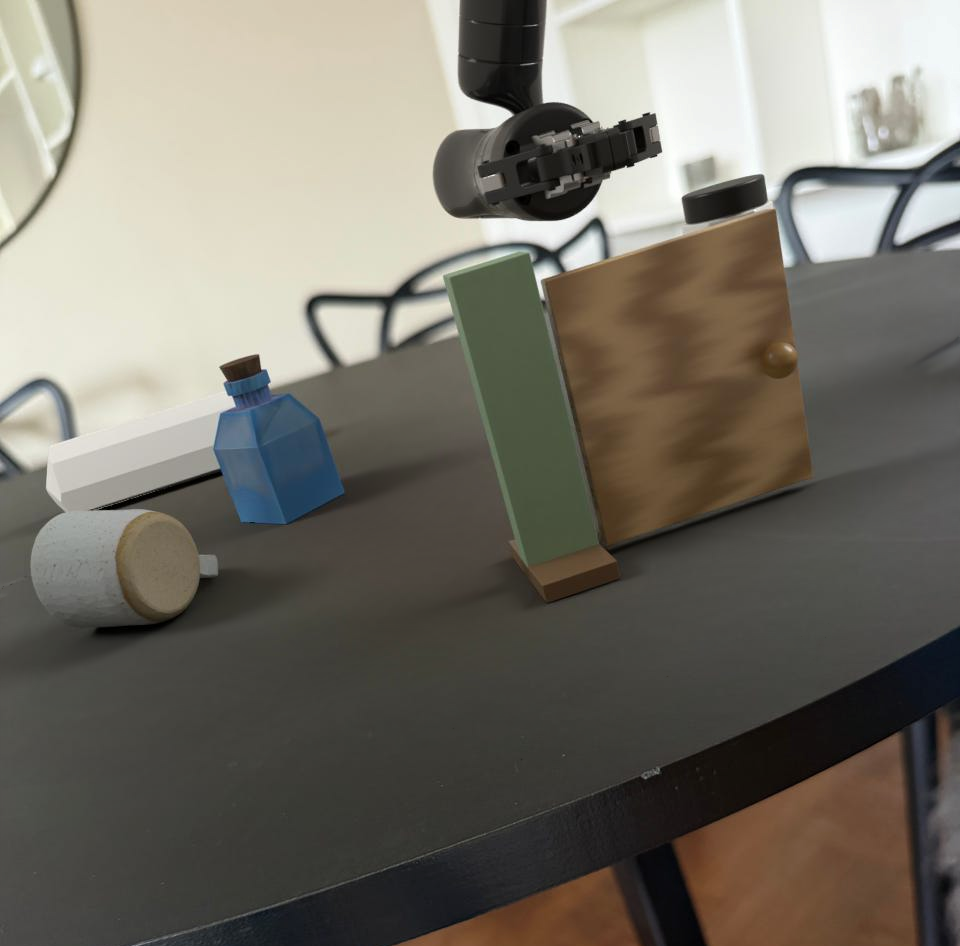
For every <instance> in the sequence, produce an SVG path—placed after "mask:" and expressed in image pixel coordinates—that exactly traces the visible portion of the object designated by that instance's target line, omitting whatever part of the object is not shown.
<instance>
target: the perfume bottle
mask: <svg viewBox="0 0 960 946" xmlns="http://www.w3.org/2000/svg"><path fill="white" fill-rule="evenodd" d="M218 368H219V370H220V371H221V373H222V374H223V376H224V378H225V381H223V387H224V391H226V392H227V395H228V396H232V397H233V400H234V403H235V405H236V407H234V408H231V409H229V410H227V411H224V412H222V413H220V417H219V422H218V427H217V432H216V437H215V442H214V447H213V451H214V453H215V456H216V458H217V461H218V464H219V466H220V469H221V474H222V477H223V479H224V481H225V484H226V486H227V489H228V492H229V495H230V497H231V499H232V501H233V504H234V507H235V509H236V513H237V514H238V516H239V517H238V518H239V520H240V522H241V523H250V522H255V523H254V524H273V525H275V524H276V525H287V524H289V523H291V522H293V521H295V520H297V519H299V518H300V517H302V516H304V515H306V514H309V512H312V511H314V510H316V509H317V508H319V507H321V506H323V505H325V504H326V503H328V502H330V501H332V500H334V499H336V498H338V497H340V496H342V495H343V494H345V493H346V492H345V489H344V486H343V484H342V481H341V478H340V475H339V472H338V470H337V466H336V463H335V460H334V458H333V455H332V450H331V449H330V446H329V442H328V439H327V437H326V436H327V435H326V434H325V430H324V429H323V425H322V421H321V419H320V418H319V417H318V416H317V415H316V414H315V413H313V411H311V410H310V409H309V408H308V407H306V406H305V405H304V404H303V403H302V402H301V401H300V400H298V399H297V398H296V397H295V396H294V395H292V393H290V392H289V393H288V392H286V393H278V394H272V392H271V389H270V386H269V384H270V383H271V382H272V381H271V378H270V375H269V373H268V369H266V368H263V369H262V365H261V357H260V354H259V353H255V354H251V355H247V356H243V357H239V358H236V359H233V360H231V361H228V362H226V363H223V364H221V365H219V367H218Z"/></svg>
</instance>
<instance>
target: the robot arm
mask: <svg viewBox="0 0 960 946" xmlns="http://www.w3.org/2000/svg"><path fill="white" fill-rule="evenodd" d="M547 10H548V0H459V8H458V12H459V13H458V15H459V16H458V39H457V40H458V41H457V42H458V44H457V52H458V54H457V84H458V87H459V90H460V91H461V93H462V94H463V95H464V96H465V97H467V98H469V99H471V100H474V101H475V102H480V103H483V104H487V105H491V106H495V107H499V108H501V109H504V110H506V111H508V112H509V113H510V114H511V116H510V117H508V118H507V119H506V120H504V121H502V123H501V124H500V125H498V126H496V127H492V128H491V127H490V128H465V129H456V130H454V131H451V132H450V133H449V134H447V135H446V136H445V138H443V139H442V141H441V142H440V144H439V146H438V148H437V150H436V153H435V155H434V159H433V164H432V186H433V191H434V193H435V197H436V198H437V201H438V203H439V205H440V206H441V208H442V209H443V210H444V211H445V212H446V213H447V214H448V215H449V216H451V217H453V218H457V219H460V220H461V219H464V220H474V219H475V220H478V219H480V220H481V219H483V220H484V219H485V220H486V219H487V220H489V219H493V220H494V219H516V220H520V221H525V222H558V221H563V220H564V221H565V220H567V219H570V218H572V217H574V216H576V215H578V214H579V213H581V212H582V211H583V210H585V209H586V208H587V207H588V206H589V205H590V204H591V203H592V201H593V200H594V199H595V197H596V196H597V195H598V192H599V191H600V189H601V186H602V184H603V181H606V180H608V179H609V180H610V179H611V174H612V172H616V171H618V170H621V169H625V168H626V169H630V168H632V167H635V166H636V165H635V164H638V163H641V162H642V161H645V160H647V159H654V158H656V157H658V155H660V154H662V153H663V147H662V142H661V135H660V129H659V125H658V119H657V113H656V112H654V113H651V112H650V111H649V112H645V113H642V114H641V116H640V117H637V118H633V119H629V120H627V118H625V119H622V120H619V121H617V124H615V125H612V127H604V128H603V126H602V125H601V122H600V121H599V120H597V121H593V120H592V118H590V116H588V115H587V113H586V112H584V111H583V110H581V109H580V108H578V107H577V106H574V105H571V104H569V103H565V102H561V101H549V102H544V93H543V92H544V90H543V89H544V88H543V68H544V67H543V66H544V59H543V58H544V53H545V39H546V29H547V27H546V26H547V12H548V11H547Z"/></svg>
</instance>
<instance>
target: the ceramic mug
mask: <svg viewBox="0 0 960 946" xmlns="http://www.w3.org/2000/svg"><path fill="white" fill-rule="evenodd" d="M43 525H44V526H43V527H41V528H40V530H39V532H38V534H37V536H36V537H35V540H34V542H33V545H32V549H31V556H30V563H29V565H30V576H31V581H32V584H33V588H34V590H35V593H36V595H37V596H36V597H38V600H40V602H41V604H42V605H43V607H44V608H45V610H46V611H47V612H48V613H49V614H50V615H51V616H53V617H54V618H55V620H58V621H59V622H60V623H63V624H64V625H66V626H70V627H74V628H79V629H90V628H110V627H111V628H112V627H114V628H115V627H125V626H145V625H147V626H148V625H156V624H159V623H163V622H166V621H169V620H172V619H174V618H175V617H177V616H179V615H180V614H182V613H183V612H184V611H185V610H186V609H187V608H188V607H189V605H190V604H191V603H192V601H193V599H194V598H195V595H196V593H197V591H198V588H199V583H200V579H207V578H209V579H210V578H211V579H214V578H217V577H218V575H219V563H218V558H217V555H215V554H199V551H198V549H197V545H196V543H195V541H194V538H193V537H192V535H191V533H190V532H189V530H188V529H187V527H185V526H184V524H183V523H182V522H180V520H179V519H176V517H173V516H171V515H169V514H167V513H164V512H160V511H155V510H149V509H144V508H143V509H141V508H133V509H131V508H130V509H110V510H109V509H108V510H107V509H101V510H93V511H69V512H65V511H64V512H62V513H59V514H58V515H55V516H54V517H53V518H51V519H50V520H49V521H47V522H46V524H43Z"/></svg>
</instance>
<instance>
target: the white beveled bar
mask: <svg viewBox="0 0 960 946" xmlns="http://www.w3.org/2000/svg"><path fill="white" fill-rule="evenodd" d="M234 407H236V405H235V403H234V400H233V397H232V396H228V395H227V392H226V390H223V391H219V392H217V393H214V394H210V395H206V396H204V397H201V398H198V399H194V400H191V401H188V402H185V403H182V404H179V405H175V406H172V407H169V408H165V409H162V410H159V411H155V412H152V413H150V414H146V415H143V416H140V417H136V418H133V419H130V420H127V421H124V422H120V423H118V424H114V425H112V426H107V427H105V428H102V429H99V430H95V431H92V432H89V433H86V434H85V433H84V434H82V435H79V436H77V437H73V438H69V439H67V440H63V441H61V442H57V443H54V444H50V447H49V451H48V455H47V464H46V481H45V483H46V484H45V490H46V492H47V494H48V495H49V496H50V498H51V499H52V500H53V501H54V502H55V504H56V505H57V506H58V507H59V508H60V509H62V510H63V512H64V513H65V512H69V511H91V510H94V509H98V508H101V507H104V506H108V505H111V504H115V503H118V502H121V501H124V500H127V499H131V498H134V497H137V496H140V495H143V494H147V493H150V492H153V491H157V490H160V489H164V488H167V487H170V486H174V485H177V484H180V485H182V484H181V483H183V484H185V483H184V482H186V483H188V482H187V481H189V482H191V481H190V480H192V481H195V480H194V479H196V480H198V479H197V478H199V479H201V478H200V477H202V478H205V477H208V476H211V475H214V474H217V472H218V473H221V472H222V471H221V469H220V466H219V464H218V461H217V458H216V456H215V453H214V451H213V447H214V442H215V437H216V432H217V427H218V422H219V417H220V413H222V412H224V411H227V410H229V409H231V408H234ZM220 471H221V472H220ZM210 474H211V475H210ZM207 475H208V476H207ZM204 476H205V477H204ZM177 486H178V485H177ZM174 487H175V486H174ZM167 489H168V488H167ZM164 490H165V489H164Z"/></svg>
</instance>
